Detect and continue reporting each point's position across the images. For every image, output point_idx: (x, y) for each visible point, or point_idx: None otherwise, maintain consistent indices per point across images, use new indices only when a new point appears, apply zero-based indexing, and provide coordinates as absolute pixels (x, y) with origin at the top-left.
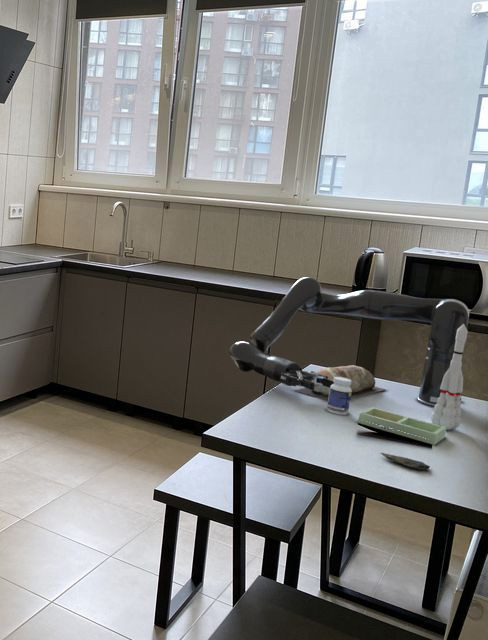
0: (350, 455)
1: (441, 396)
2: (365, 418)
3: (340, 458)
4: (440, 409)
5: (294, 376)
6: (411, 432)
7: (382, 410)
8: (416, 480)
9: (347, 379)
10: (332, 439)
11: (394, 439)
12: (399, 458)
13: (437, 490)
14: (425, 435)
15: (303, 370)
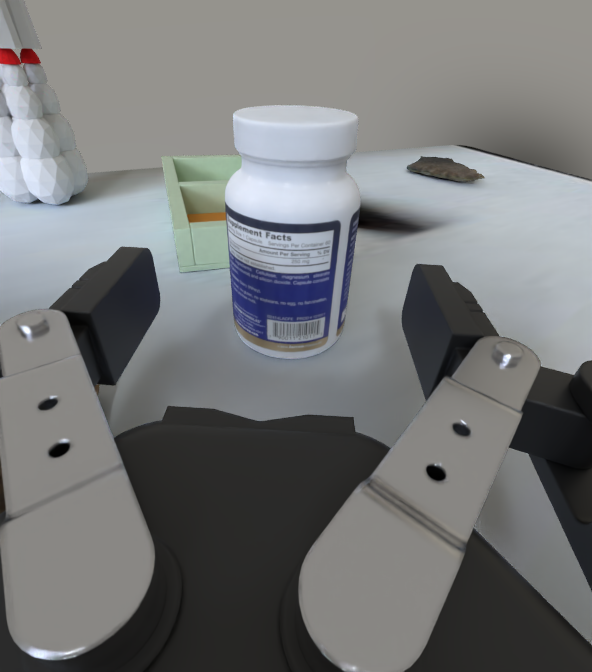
0: (548, 200)
1: (26, 82)
2: None
3: (584, 200)
4: (56, 135)
5: (504, 560)
6: None
7: (181, 211)
8: (475, 165)
9: (264, 109)
10: (544, 231)
11: None
12: (460, 166)
13: (466, 157)
14: None
15: (28, 627)
